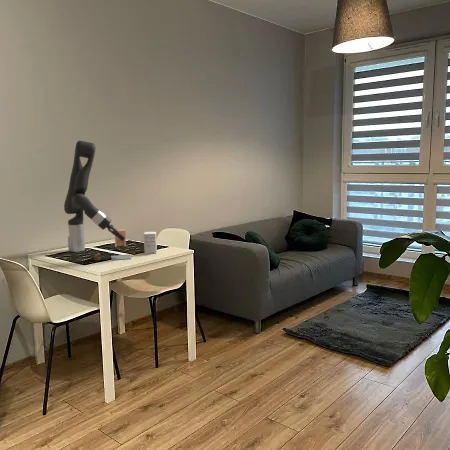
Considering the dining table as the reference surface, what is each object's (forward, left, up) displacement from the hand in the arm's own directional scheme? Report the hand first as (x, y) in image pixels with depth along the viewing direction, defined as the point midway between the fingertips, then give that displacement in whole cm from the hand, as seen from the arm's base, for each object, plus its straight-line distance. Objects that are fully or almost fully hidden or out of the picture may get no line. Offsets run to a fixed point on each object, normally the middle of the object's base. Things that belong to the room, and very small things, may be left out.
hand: (123, 238), depth 268 cm
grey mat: (-2, -1, -11) cm, 12 cm away
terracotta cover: (-1, -1, -4) cm, 5 cm away
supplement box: (+10, +17, -12) cm, 23 cm away
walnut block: (-13, -7, -12) cm, 19 cm away
